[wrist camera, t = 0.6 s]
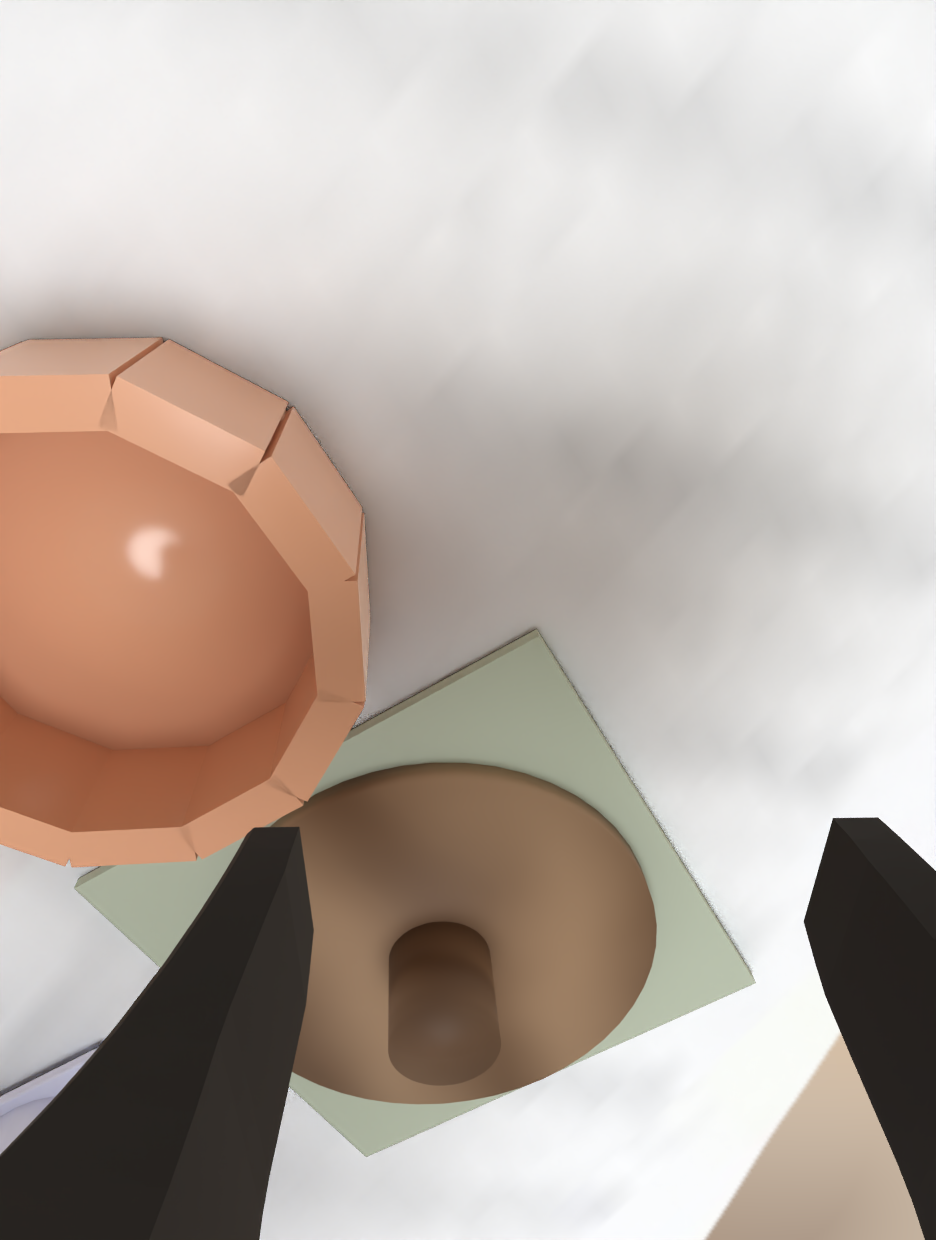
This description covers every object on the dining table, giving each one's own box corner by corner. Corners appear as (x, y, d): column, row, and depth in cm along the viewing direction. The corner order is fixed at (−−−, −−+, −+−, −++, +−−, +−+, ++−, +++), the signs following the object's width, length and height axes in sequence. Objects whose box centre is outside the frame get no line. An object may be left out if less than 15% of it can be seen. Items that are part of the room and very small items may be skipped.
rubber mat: (366, 1146, 32) (366, 1156, 31) (78, 878, 25) (74, 888, 25) (751, 973, 29) (755, 982, 29) (536, 628, 23) (538, 636, 23)
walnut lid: (374, 1132, 31) (372, 1250, 27) (125, 895, 25) (83, 1006, 22) (715, 976, 29) (759, 1083, 25) (522, 682, 23) (545, 768, 20)
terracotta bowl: (110, 824, 25) (62, 933, 21) (-215, 502, 20) (-347, 573, 17) (450, 636, 23) (460, 721, 19) (177, 235, 18) (123, 249, 15)
